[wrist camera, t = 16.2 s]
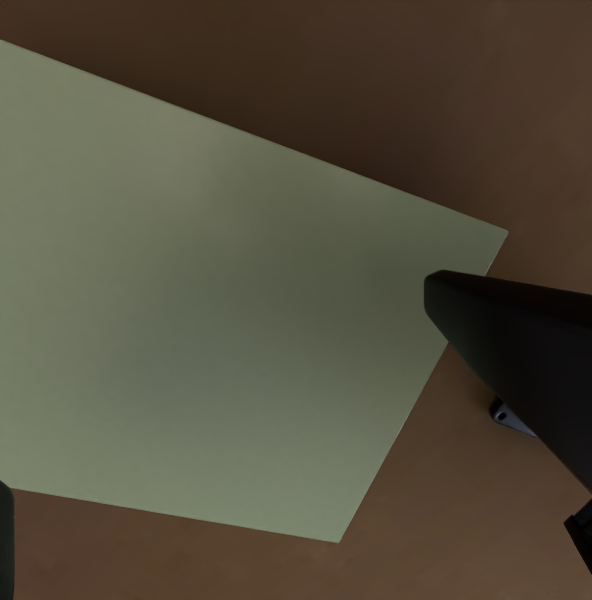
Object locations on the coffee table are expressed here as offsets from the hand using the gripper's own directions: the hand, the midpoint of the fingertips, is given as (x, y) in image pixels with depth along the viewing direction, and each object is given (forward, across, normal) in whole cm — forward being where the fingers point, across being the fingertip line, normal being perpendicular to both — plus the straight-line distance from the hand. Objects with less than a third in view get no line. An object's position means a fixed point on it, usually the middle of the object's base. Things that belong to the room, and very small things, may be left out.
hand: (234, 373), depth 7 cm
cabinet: (+11, 0, +4) cm, 11 cm away
